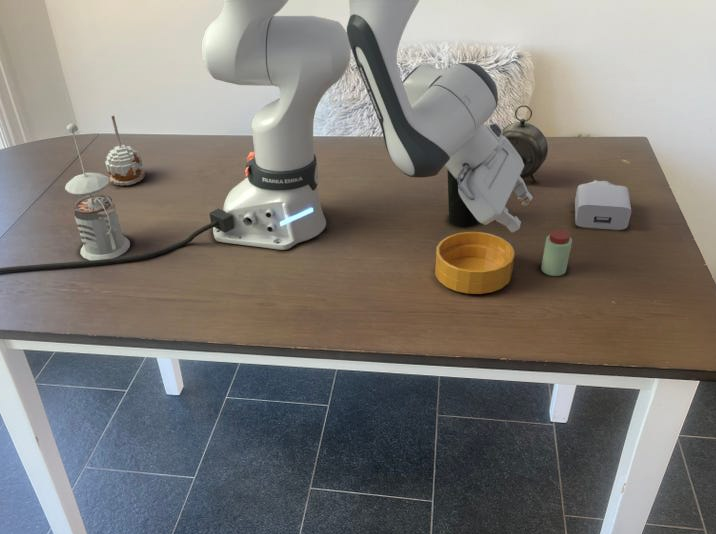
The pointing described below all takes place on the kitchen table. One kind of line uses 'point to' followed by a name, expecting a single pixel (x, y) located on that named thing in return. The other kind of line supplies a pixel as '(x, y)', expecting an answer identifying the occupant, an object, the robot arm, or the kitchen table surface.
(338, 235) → the kitchen table surface
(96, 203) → the french press
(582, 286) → the kitchen table surface
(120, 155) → the caramel apple
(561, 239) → the container
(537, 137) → the alarm clock
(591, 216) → the charger
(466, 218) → the cup
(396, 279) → the kitchen table surface
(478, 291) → the bowl
